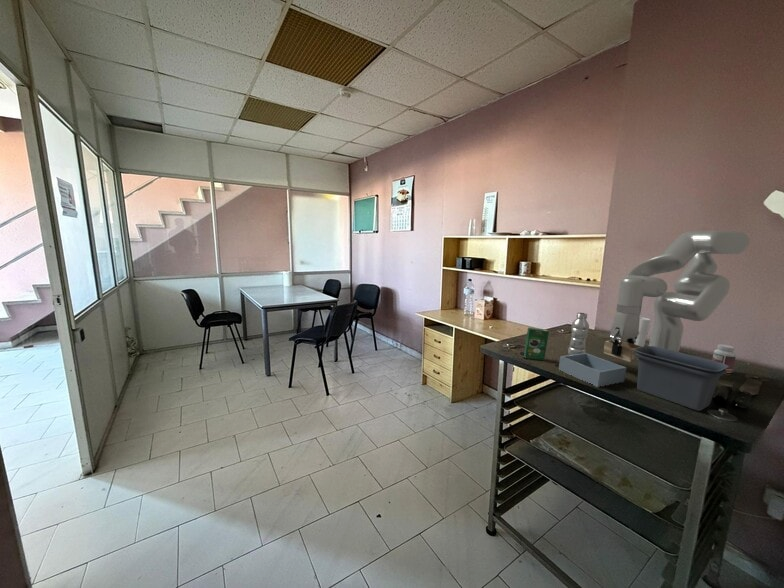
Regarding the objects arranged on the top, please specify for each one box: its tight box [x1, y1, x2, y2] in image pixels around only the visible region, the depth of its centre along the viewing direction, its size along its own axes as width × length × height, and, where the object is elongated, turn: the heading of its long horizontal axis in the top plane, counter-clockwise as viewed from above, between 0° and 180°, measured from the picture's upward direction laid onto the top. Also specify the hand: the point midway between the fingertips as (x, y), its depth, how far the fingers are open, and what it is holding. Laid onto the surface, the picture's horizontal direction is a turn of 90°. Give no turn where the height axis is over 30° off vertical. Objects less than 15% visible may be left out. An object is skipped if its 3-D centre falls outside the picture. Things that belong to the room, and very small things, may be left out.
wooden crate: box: [603, 339, 642, 363], centre depth 124 cm, size 7×10×5 cm
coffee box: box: [523, 327, 549, 361], centre depth 133 cm, size 8×3×13 cm, turn 80°
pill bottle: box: [711, 343, 737, 373], centre depth 128 cm, size 6×6×11 cm
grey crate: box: [558, 352, 627, 388], centre depth 118 cm, size 15×16×6 cm
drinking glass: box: [634, 316, 652, 347], centre depth 156 cm, size 7×7×15 cm
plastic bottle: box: [567, 312, 590, 355], centre depth 135 cm, size 6×7×20 cm
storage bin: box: [635, 345, 729, 412], centre depth 103 cm, size 21×16×14 cm
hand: (622, 353), depth 124 cm, fingers closed on wooden crate, 7 cm apart
